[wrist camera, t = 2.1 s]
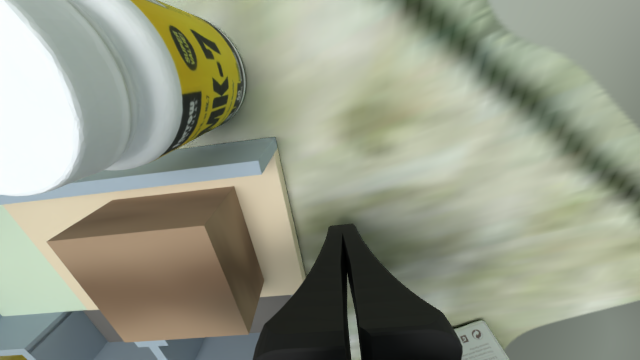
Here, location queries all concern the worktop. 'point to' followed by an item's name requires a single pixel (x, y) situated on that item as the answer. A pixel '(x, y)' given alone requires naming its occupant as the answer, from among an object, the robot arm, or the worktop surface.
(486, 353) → the skincare box
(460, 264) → the worktop surface
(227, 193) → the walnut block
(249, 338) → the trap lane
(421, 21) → the worktop surface
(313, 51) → the worktop surface
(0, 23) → the supplement bottle
